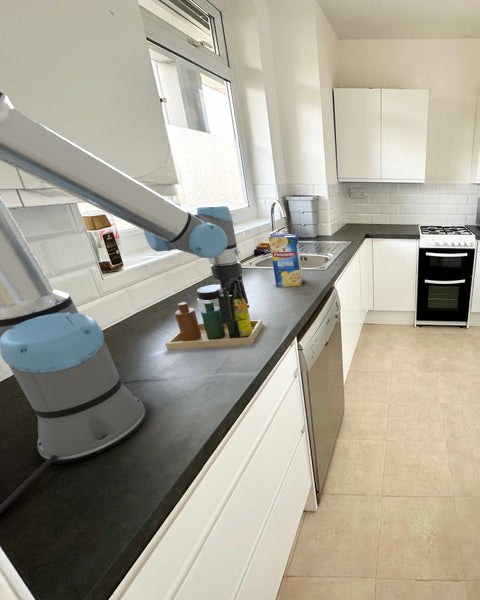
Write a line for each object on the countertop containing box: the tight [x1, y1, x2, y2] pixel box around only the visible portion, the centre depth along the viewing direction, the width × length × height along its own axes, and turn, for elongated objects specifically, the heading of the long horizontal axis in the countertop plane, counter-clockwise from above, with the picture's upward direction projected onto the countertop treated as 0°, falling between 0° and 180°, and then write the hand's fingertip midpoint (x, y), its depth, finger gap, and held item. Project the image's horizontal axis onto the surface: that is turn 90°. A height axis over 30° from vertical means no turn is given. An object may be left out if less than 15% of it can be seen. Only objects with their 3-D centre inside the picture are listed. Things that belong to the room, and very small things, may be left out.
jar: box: [196, 283, 220, 323], centre depth 104 cm, size 9×8×12 cm
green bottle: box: [200, 301, 226, 340], centre depth 93 cm, size 5×5×11 cm
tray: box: [165, 319, 264, 351], centre depth 95 cm, size 13×23×3 cm, turn 98°
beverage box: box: [268, 233, 304, 288], centre depth 139 cm, size 7×11×22 cm, turn 100°
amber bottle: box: [174, 301, 201, 341], centre depth 92 cm, size 5×5×11 cm
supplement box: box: [234, 298, 252, 338], centre depth 94 cm, size 6×6×11 cm
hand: (240, 334), depth 96 cm, fingers closed on supplement box, 8 cm apart
